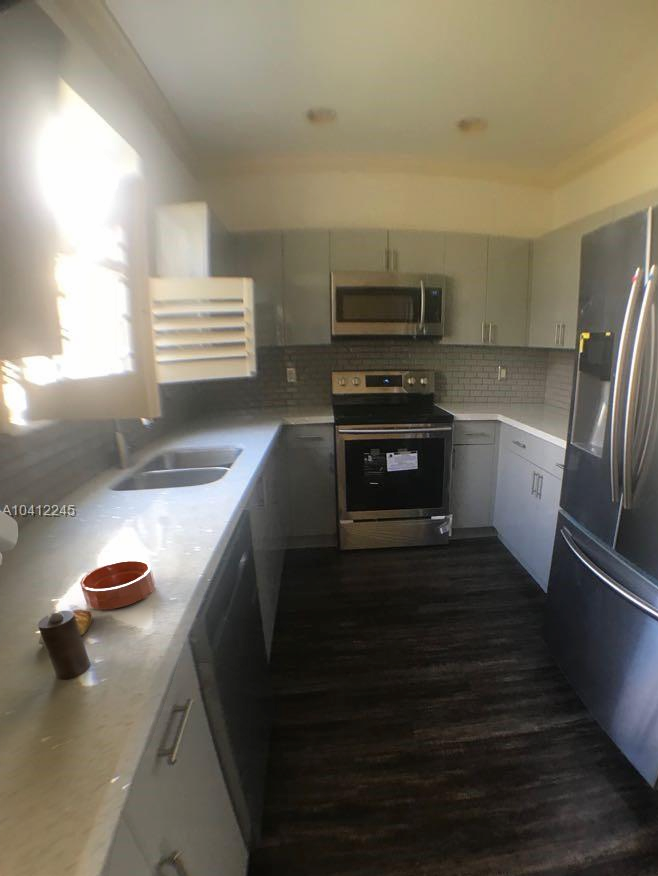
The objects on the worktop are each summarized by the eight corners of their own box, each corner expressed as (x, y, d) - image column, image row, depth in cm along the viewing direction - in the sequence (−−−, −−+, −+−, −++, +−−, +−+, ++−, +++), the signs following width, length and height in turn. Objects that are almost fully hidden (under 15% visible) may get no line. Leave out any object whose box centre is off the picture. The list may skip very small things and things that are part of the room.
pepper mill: (52, 682, 73) (31, 624, 69) (60, 664, 78) (40, 607, 73) (86, 675, 75) (67, 617, 71) (93, 657, 79) (75, 601, 75)
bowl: (80, 617, 90) (73, 596, 88) (94, 586, 102) (88, 566, 100) (152, 603, 94) (147, 582, 92) (157, 574, 106) (153, 555, 104)
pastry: (69, 618, 90) (64, 601, 89) (103, 617, 90) (98, 600, 89) (36, 648, 82) (29, 630, 80) (73, 648, 82) (67, 630, 80)
